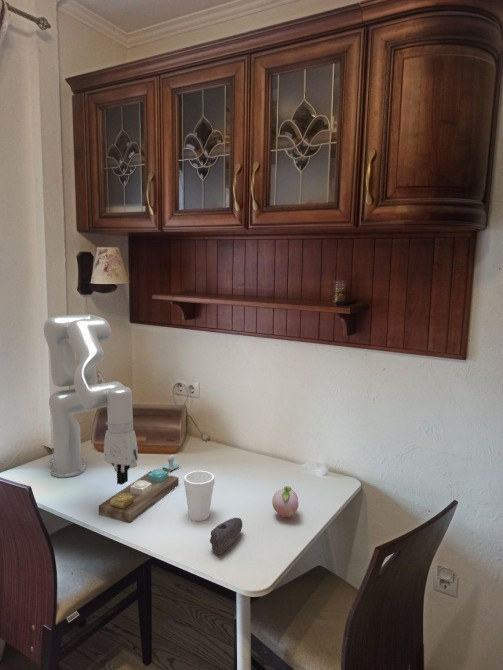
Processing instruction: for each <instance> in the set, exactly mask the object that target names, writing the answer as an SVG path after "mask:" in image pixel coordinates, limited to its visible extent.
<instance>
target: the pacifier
mask: <svg viewBox="0 0 503 670" xmlns="http://www.w3.org/2000/svg"><path fill="white" fill-rule="evenodd" d="M167 462H168V463H167V464H166V463H165V464H164V465H162V466H161V467H160V469H162V470H164V471H166V472H172V471H174V470H175V469H176V468H178V467H179V466H180V462H179V461H178V460H175V455H174V454H171V455H169V457H168V458H167Z"/></svg>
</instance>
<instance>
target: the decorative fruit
mask: <svg viewBox="0 0 503 670" xmlns="http://www.w3.org/2000/svg"><path fill="white" fill-rule="evenodd" d="M271 504H272V508H273V510H274V511H275V512H276V514H278V516H281V517H283V518H289V517H293V516H294V515H295V514H296V513H297V510H298V509H299V497H298V495H297V493H296V491H295V490H293V489H292V487H291V486H288V485H287V486H284V487H283V488H281V489H279V490H277V491H276V492H274V494H273V496H272V501H271Z"/></svg>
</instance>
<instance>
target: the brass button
mask: <svg viewBox="0 0 503 670" xmlns="http://www.w3.org/2000/svg"><path fill="white" fill-rule="evenodd" d="M116 494H117V493H116ZM110 503H111V507H115V508H118V509H122V510H124V509H126V508H127V507H128V506H130V505H131V504H133V496H130V495H129V494H127V493H120V494H117V495H116V496H115V497H114V498H113V499H111V500H110Z"/></svg>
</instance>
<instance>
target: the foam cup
mask: <svg viewBox="0 0 503 670" xmlns="http://www.w3.org/2000/svg"><path fill="white" fill-rule="evenodd" d="M183 485H184V489H185V490H184V491H185V497H186V504H187V512H188V517H189V520H192V521H196V522H202V521H205V520H207V519H208V518H209V516H210V514H211V513H210V511H211V505H212V497H213V491H214V485H215V475H214V474H213V473H212V472H210V471H206V470H194V471H190V472H188V473H186V474H185V475H184V477H183Z"/></svg>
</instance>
